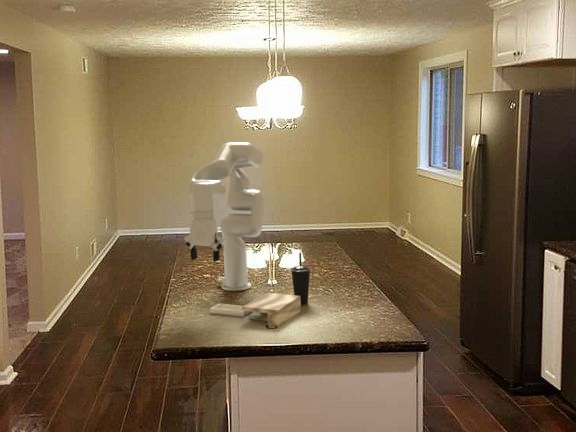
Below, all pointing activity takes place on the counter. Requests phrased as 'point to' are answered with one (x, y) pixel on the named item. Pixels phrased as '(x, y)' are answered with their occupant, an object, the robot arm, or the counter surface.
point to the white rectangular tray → (229, 310)
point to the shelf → (274, 307)
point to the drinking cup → (301, 281)
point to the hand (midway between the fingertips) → (205, 260)
